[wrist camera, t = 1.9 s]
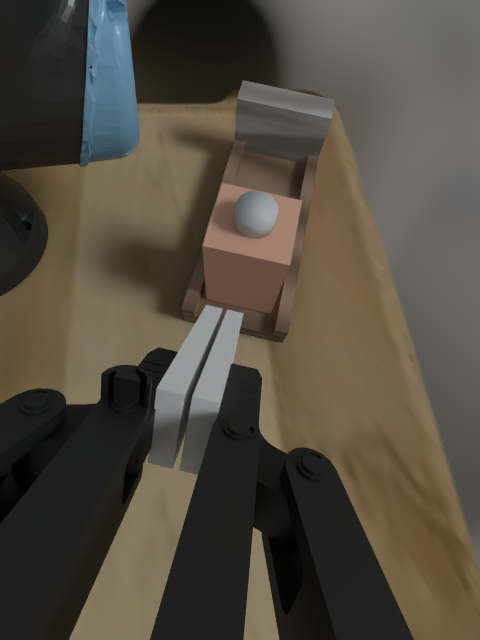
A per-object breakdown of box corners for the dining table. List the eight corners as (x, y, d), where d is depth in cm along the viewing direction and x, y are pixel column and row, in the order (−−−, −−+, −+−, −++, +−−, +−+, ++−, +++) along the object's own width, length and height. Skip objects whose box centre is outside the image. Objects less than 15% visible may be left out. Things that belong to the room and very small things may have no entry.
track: (282, 342, 32) (300, 313, 25) (184, 319, 32) (175, 284, 25) (315, 158, 41) (334, 99, 34) (238, 141, 42) (243, 80, 35)
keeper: (270, 313, 31) (295, 252, 21) (206, 299, 31) (201, 231, 22) (281, 262, 33) (307, 184, 24) (220, 248, 34) (222, 166, 24)
